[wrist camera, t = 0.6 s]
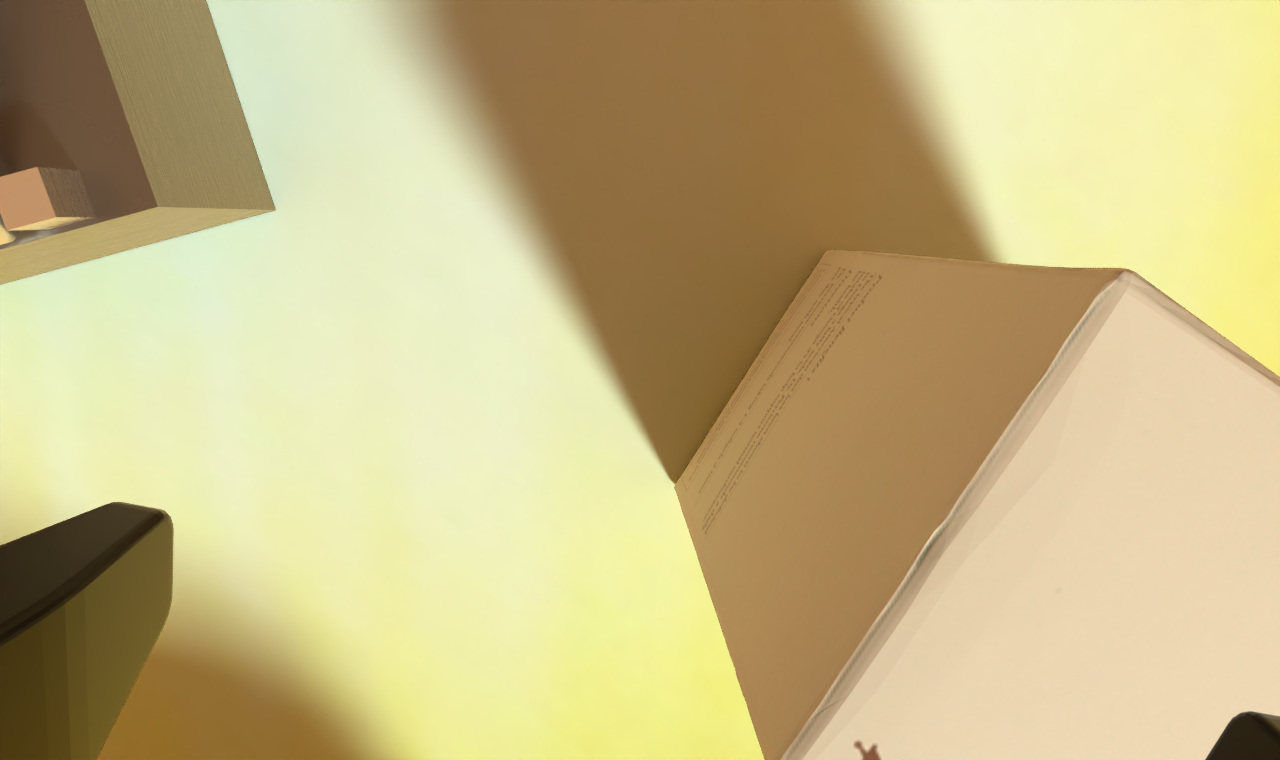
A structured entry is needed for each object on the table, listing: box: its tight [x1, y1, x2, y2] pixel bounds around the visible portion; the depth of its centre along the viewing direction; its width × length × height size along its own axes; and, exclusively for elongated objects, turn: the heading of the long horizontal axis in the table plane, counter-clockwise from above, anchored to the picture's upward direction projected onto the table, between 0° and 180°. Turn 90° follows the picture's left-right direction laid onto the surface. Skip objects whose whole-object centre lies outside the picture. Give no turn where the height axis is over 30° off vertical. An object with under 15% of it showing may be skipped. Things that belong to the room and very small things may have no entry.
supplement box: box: [674, 250, 1280, 760], centre depth 17 cm, size 7×7×13 cm
